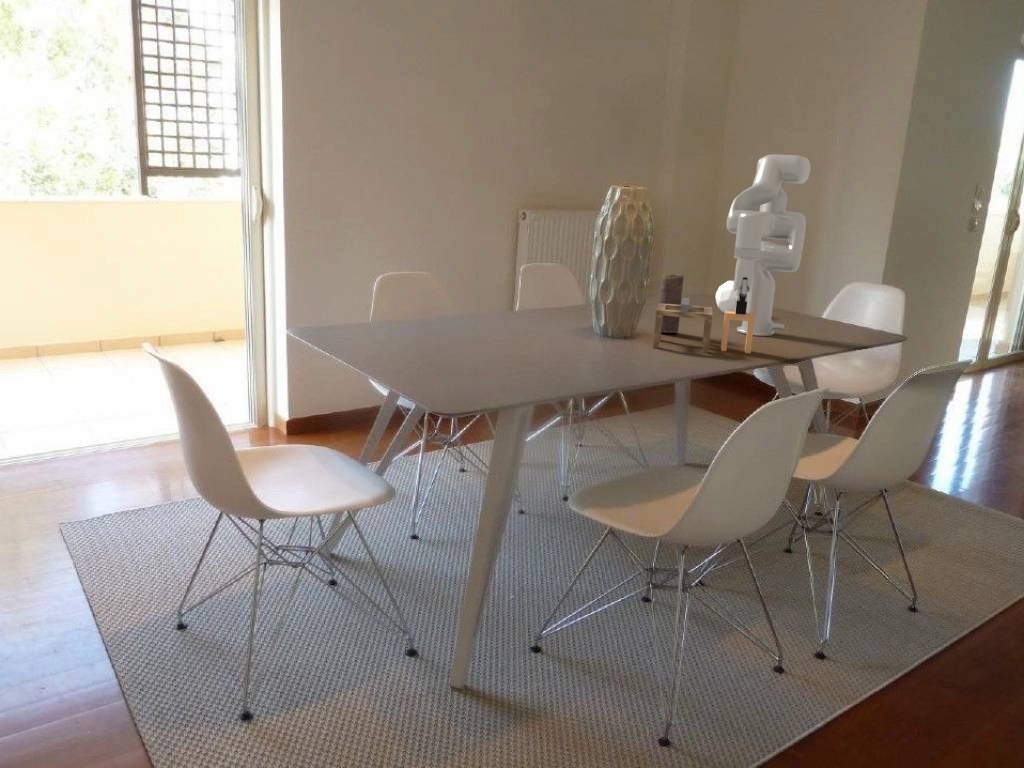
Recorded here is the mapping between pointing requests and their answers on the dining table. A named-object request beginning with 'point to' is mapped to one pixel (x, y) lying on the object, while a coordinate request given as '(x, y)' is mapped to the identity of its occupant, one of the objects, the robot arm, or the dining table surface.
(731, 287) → the geodesic sphere
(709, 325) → the shelf
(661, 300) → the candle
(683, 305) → the long charcoal crossbeam
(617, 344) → the dining table surface
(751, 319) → the orange cream legged block
